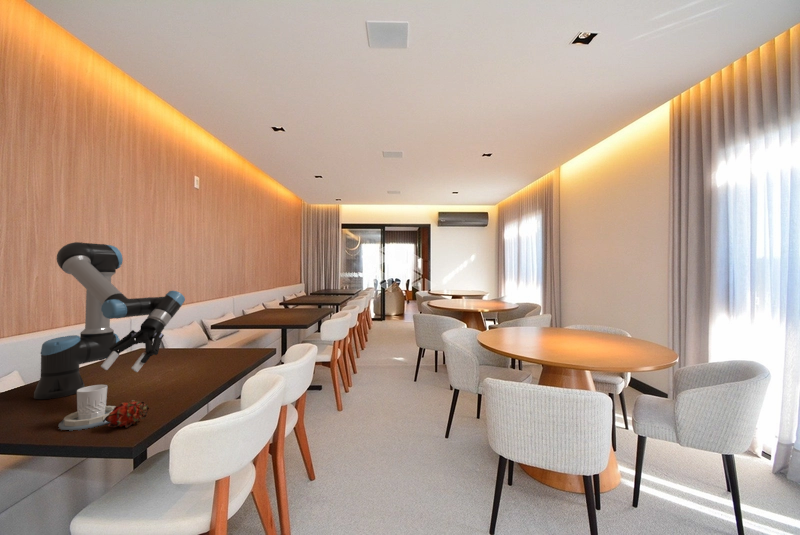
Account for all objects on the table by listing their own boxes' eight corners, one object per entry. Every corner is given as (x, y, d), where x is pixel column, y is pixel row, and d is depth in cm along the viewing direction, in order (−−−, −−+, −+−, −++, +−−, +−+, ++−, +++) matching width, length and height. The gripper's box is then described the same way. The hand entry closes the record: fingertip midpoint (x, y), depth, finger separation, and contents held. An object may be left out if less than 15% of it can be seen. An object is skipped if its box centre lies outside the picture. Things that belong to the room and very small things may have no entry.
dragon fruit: (152, 424, 117) (106, 441, 108) (146, 405, 121) (102, 420, 113) (151, 409, 113) (104, 426, 104) (145, 390, 117) (99, 404, 109)
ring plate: (44, 429, 110) (44, 421, 110) (96, 410, 126) (96, 403, 126) (85, 432, 107) (85, 424, 107) (133, 412, 123) (133, 405, 123)
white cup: (88, 423, 112) (89, 392, 112) (69, 421, 114) (70, 391, 114) (112, 414, 120) (113, 385, 120) (94, 412, 121) (95, 383, 122)
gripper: (187, 329, 141) (153, 376, 126) (136, 327, 146) (98, 372, 131) (176, 318, 136) (140, 365, 121) (124, 316, 141) (83, 362, 126)
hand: (118, 369), depth 126 cm, fingers open, 13 cm apart
